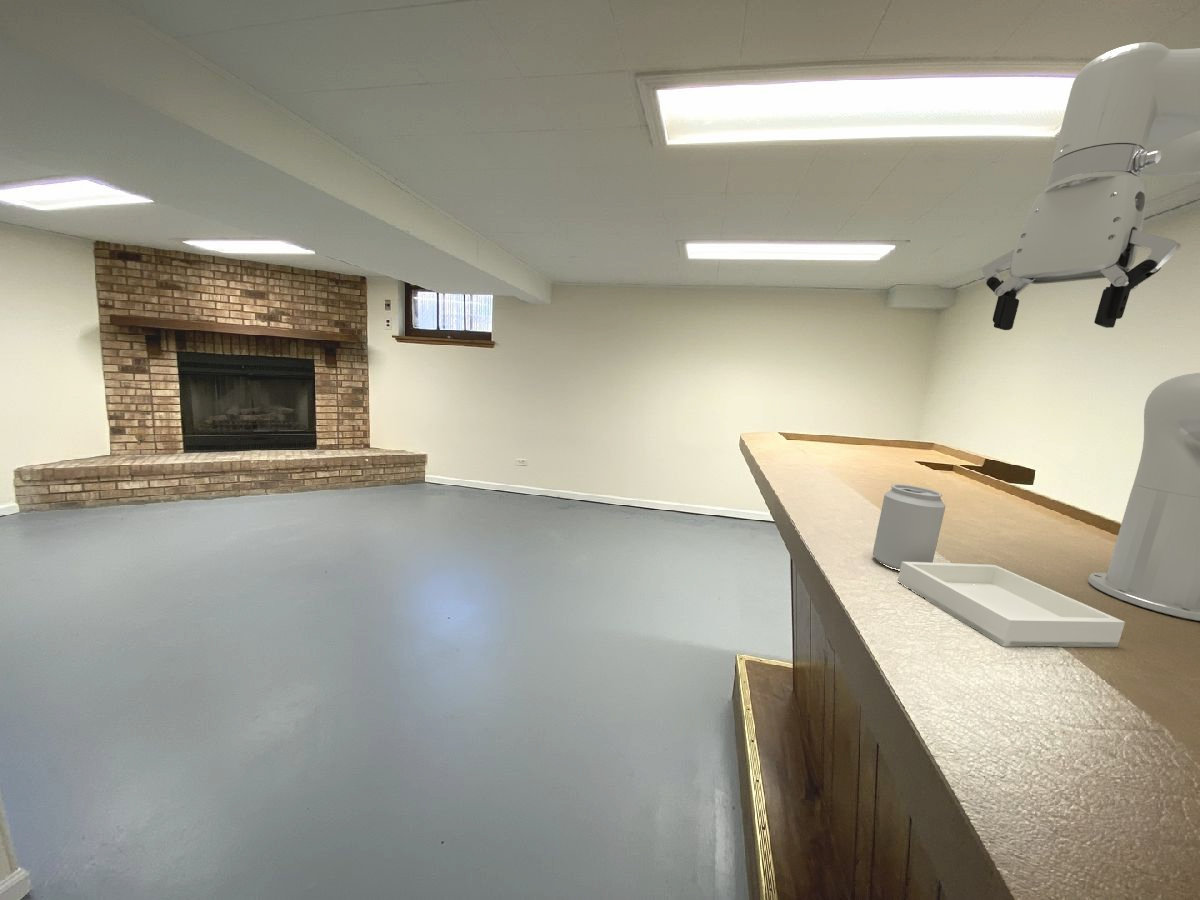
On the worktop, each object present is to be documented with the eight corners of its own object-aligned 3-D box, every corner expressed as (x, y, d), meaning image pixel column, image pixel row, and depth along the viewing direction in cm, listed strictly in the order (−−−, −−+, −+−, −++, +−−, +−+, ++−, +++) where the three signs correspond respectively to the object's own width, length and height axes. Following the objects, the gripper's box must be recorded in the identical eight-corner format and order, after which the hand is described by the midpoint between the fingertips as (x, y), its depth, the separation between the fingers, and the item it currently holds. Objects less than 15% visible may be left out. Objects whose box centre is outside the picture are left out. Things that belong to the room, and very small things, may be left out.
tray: (989, 584, 65) (995, 564, 64) (1117, 647, 50) (1125, 622, 50) (897, 582, 63) (901, 561, 62) (1002, 646, 48) (1009, 620, 48)
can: (912, 559, 72) (928, 485, 70) (941, 580, 65) (961, 498, 63) (862, 553, 73) (877, 479, 71) (886, 573, 66) (903, 491, 63)
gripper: (1220, 160, 48) (1166, 329, 50) (1016, 205, 63) (984, 333, 66) (1195, 136, 44) (1139, 319, 47) (987, 190, 60) (954, 325, 63)
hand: (1049, 327), depth 56 cm, fingers open, 9 cm apart
